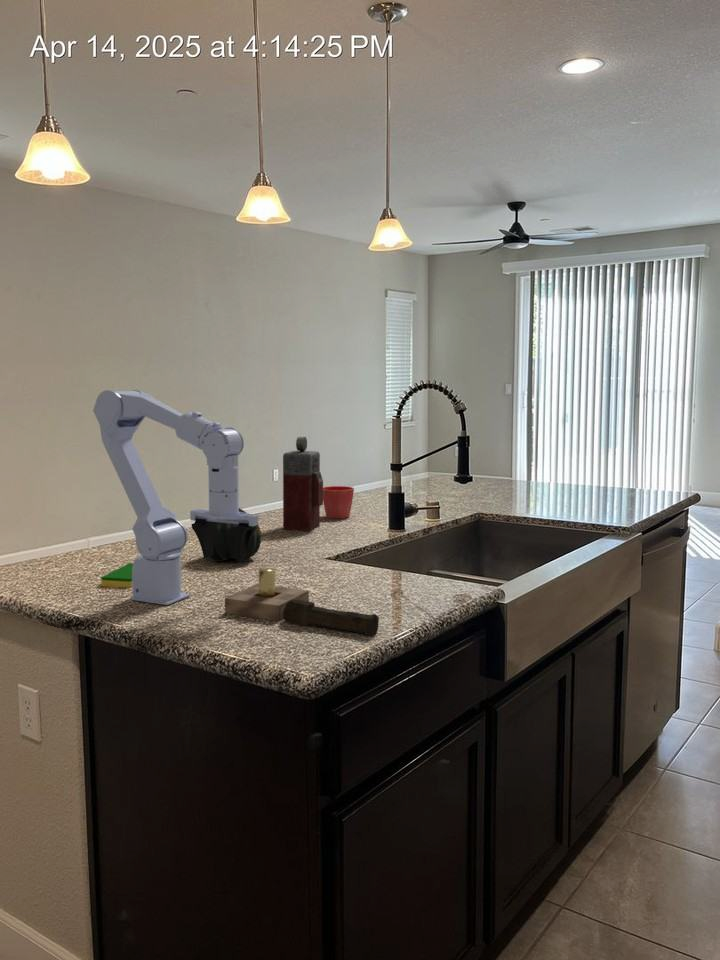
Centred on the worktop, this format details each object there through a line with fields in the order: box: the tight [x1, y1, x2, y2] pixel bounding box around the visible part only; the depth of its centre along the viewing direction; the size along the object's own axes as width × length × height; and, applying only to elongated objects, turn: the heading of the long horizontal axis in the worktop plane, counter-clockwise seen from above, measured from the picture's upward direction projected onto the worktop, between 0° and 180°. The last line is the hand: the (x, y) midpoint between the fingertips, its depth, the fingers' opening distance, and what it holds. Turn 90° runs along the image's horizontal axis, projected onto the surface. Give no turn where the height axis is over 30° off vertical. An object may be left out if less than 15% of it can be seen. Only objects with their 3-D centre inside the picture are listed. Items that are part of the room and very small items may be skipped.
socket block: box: [224, 583, 310, 622], centre depth 156 cm, size 12×12×3 cm
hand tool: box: [283, 599, 380, 638], centre depth 145 cm, size 19×4×5 cm, turn 63°
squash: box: [209, 507, 262, 563], centre depth 200 cm, size 14×15×15 cm
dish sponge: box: [100, 562, 134, 589], centre depth 179 cm, size 7×14×2 cm, turn 170°
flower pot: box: [323, 485, 355, 519], centre depth 263 cm, size 11×11×10 cm
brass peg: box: [258, 567, 276, 598], centre depth 156 cm, size 3×3×8 cm
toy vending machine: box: [282, 436, 324, 532], centre depth 241 cm, size 9×11×28 cm
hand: (224, 559), depth 156 cm, fingers open, 7 cm apart
